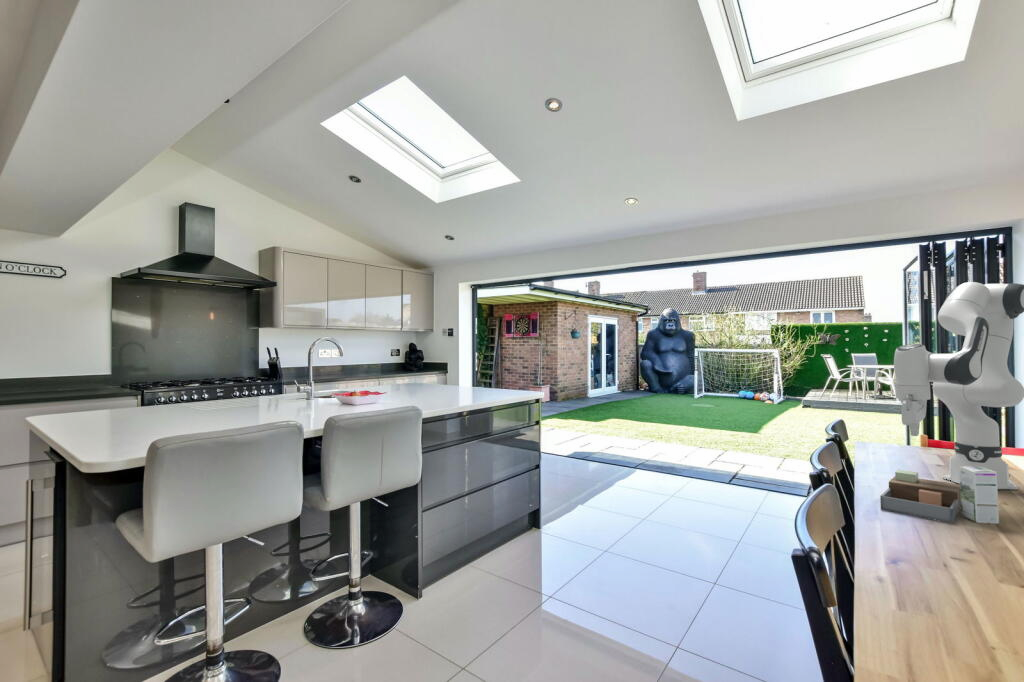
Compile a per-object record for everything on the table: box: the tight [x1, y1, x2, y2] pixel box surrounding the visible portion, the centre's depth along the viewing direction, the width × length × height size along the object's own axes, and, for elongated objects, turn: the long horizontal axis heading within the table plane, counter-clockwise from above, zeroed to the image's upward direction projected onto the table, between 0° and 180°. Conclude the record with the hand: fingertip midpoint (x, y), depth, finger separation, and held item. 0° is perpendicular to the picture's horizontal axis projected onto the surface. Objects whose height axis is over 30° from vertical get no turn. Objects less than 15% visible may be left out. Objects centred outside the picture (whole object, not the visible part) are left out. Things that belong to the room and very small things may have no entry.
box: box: [880, 487, 959, 524], centre depth 139 cm, size 12×16×4 cm
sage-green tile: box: [894, 469, 919, 483], centre depth 152 cm, size 5×5×2 cm
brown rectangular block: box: [888, 476, 961, 513], centre depth 147 cm, size 12×16×6 cm
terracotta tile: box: [919, 489, 942, 506], centre depth 140 cm, size 5×5×2 cm
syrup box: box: [959, 466, 1000, 525], centre depth 132 cm, size 6×6×14 cm
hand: (914, 435), depth 154 cm, fingers closed
